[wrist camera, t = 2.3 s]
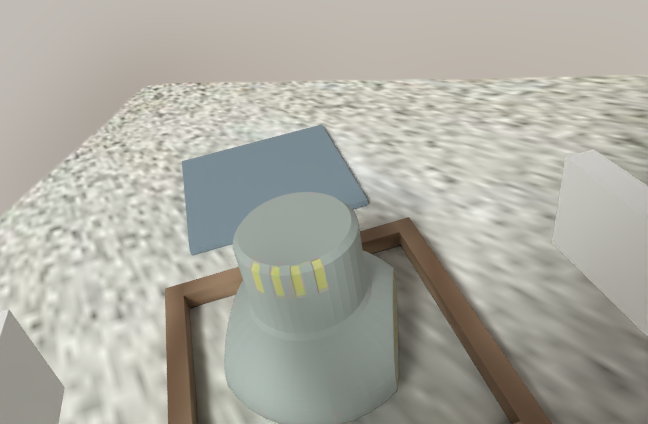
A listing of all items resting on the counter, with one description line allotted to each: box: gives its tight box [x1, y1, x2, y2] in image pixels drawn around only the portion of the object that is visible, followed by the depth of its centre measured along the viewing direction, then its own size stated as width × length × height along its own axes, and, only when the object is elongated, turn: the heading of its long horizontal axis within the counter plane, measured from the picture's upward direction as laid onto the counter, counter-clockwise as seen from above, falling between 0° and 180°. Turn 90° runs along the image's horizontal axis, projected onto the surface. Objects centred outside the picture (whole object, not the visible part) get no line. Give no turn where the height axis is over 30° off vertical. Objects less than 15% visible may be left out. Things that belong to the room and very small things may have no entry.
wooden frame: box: [165, 218, 552, 424], centre depth 29 cm, size 17×17×1 cm
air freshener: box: [225, 192, 399, 424], centre depth 27 cm, size 11×8×10 cm
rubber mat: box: [182, 125, 368, 255], centre depth 46 cm, size 14×14×1 cm
